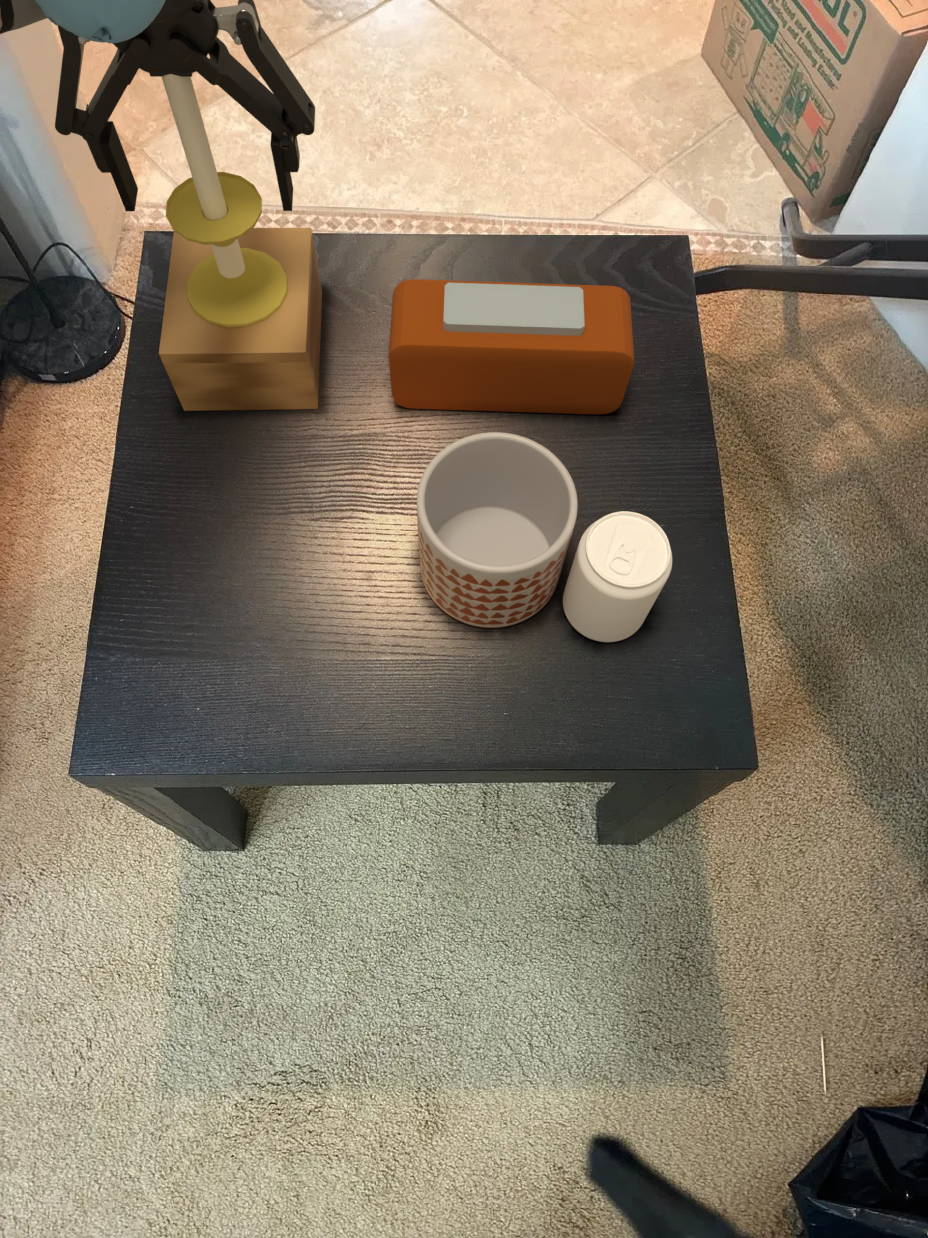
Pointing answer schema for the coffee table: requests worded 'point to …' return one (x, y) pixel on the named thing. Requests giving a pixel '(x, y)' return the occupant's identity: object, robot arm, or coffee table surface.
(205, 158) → the candle
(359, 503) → the coffee table surface
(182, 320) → the lidded tan carton
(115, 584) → the coffee table surface
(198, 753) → the coffee table surface
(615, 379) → the alarm clock
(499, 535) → the planter
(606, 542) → the beverage can
